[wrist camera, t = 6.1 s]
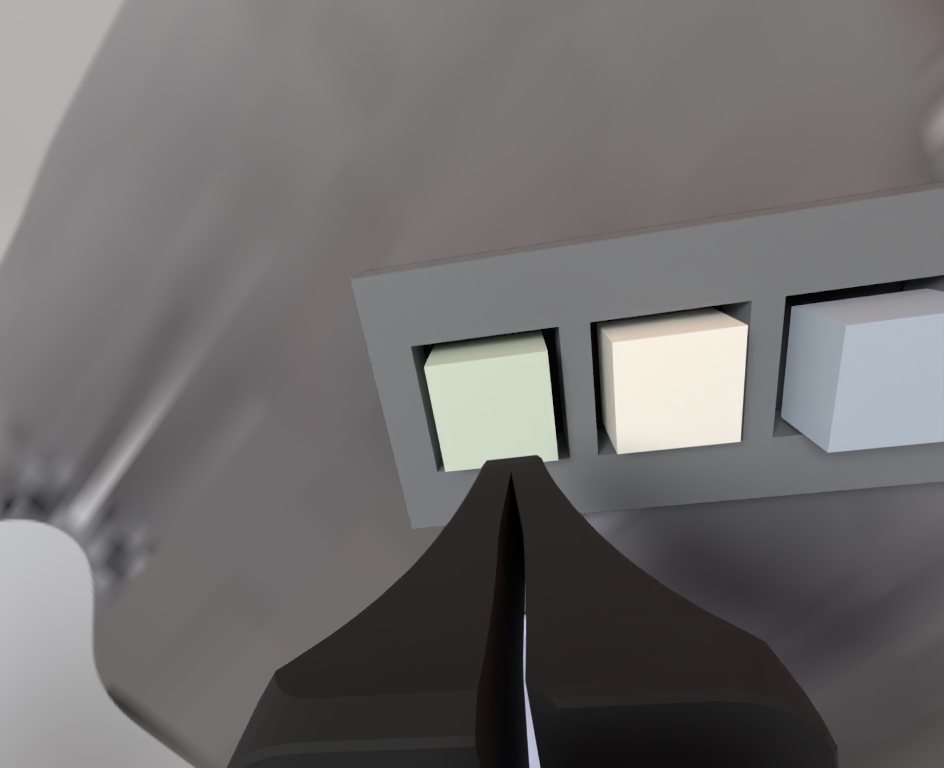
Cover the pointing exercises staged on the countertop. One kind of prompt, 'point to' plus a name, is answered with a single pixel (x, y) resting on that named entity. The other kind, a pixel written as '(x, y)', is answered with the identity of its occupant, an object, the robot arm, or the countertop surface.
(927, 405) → the slate key
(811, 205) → the grey slotted tray
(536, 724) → the robot arm
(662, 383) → the cream key
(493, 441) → the sage key
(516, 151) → the countertop surface
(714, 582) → the countertop surface
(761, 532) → the countertop surface
